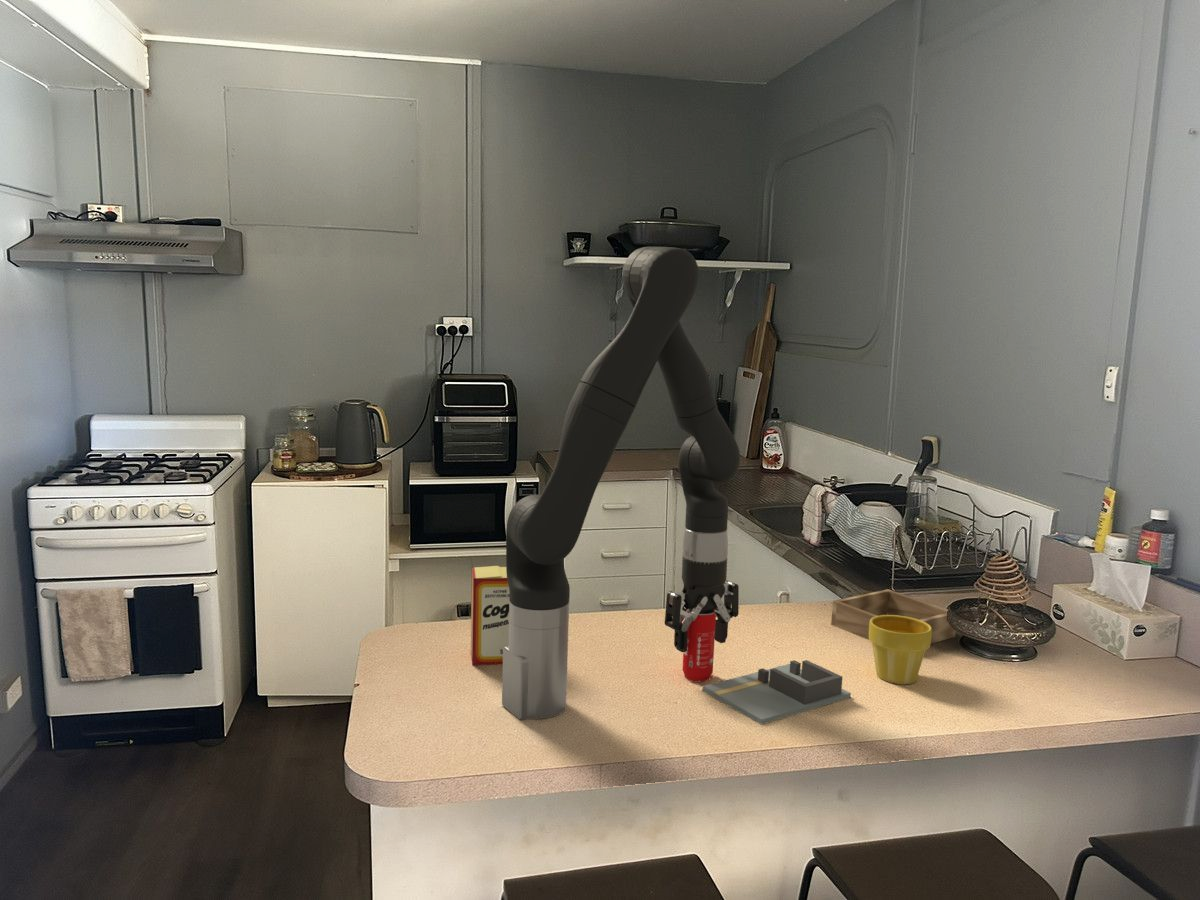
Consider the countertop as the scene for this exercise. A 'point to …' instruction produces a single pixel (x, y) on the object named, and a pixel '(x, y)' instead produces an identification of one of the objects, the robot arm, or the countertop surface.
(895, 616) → the plant pot
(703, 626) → the beverage can
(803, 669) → the board
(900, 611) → the wooden tray
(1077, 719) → the countertop surface
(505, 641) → the baking soda box
